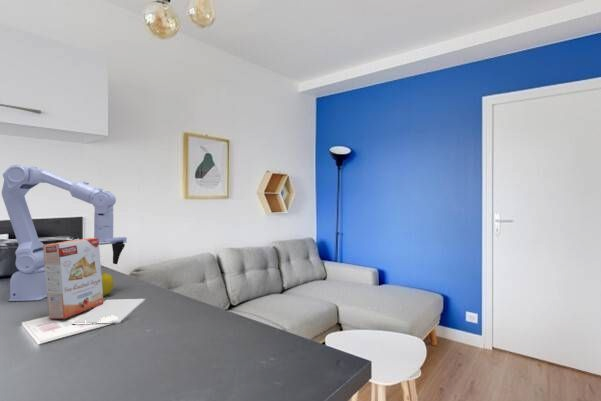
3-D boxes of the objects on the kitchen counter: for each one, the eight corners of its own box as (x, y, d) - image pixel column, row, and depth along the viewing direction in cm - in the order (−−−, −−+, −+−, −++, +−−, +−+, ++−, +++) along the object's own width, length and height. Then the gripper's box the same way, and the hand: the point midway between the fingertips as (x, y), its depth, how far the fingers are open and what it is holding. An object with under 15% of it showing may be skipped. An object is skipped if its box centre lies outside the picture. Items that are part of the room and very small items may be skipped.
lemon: (107, 298, 112) (107, 274, 112) (91, 298, 112) (91, 274, 112) (117, 293, 117) (117, 271, 117) (101, 293, 118) (101, 270, 117)
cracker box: (66, 319, 91) (58, 243, 91) (47, 320, 93) (40, 244, 93) (105, 303, 105) (99, 236, 105) (89, 303, 106) (83, 238, 106)
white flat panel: (72, 324, 89) (72, 323, 89) (106, 301, 109) (106, 299, 109) (119, 323, 91) (119, 321, 91) (145, 300, 111) (145, 298, 111)
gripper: (84, 228, 108) (84, 270, 108) (130, 225, 119) (130, 263, 119) (76, 227, 112) (76, 267, 113) (121, 224, 124) (121, 261, 124)
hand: (103, 265), depth 116 cm, fingers open, 7 cm apart
